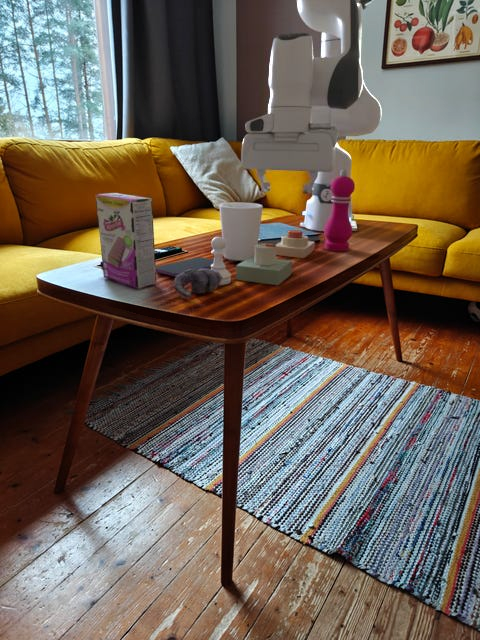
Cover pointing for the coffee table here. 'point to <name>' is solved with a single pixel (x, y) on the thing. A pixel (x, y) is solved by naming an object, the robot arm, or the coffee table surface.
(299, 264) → the coffee table surface
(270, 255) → the knob
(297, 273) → the coffee table surface
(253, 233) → the cup
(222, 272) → the chess pawn
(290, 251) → the button box
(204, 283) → the grey elephant figurine
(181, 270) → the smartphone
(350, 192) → the pepper mill
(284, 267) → the dial panel
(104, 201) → the candy bar box
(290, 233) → the button
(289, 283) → the coffee table surface
